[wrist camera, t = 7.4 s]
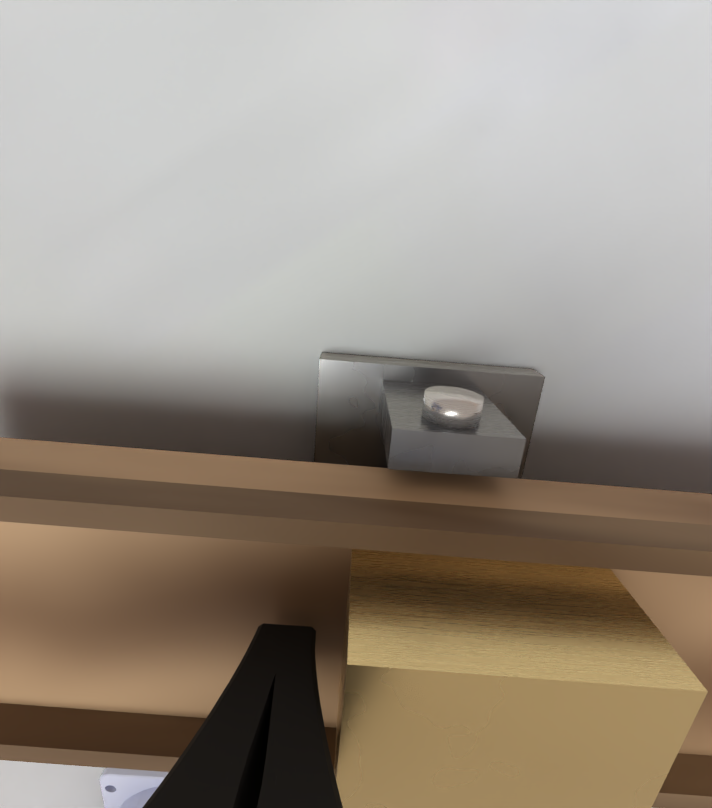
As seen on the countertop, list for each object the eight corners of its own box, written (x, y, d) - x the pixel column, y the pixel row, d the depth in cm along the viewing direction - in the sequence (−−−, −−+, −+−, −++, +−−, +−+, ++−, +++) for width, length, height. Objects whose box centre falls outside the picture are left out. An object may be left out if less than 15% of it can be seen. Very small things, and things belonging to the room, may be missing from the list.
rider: (558, 716, 11) (621, 867, 9) (338, 700, 11) (329, 846, 9) (608, 566, 10) (707, 691, 7) (352, 546, 10) (347, 664, 7)
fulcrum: (471, 644, 18) (511, 782, 13) (307, 633, 18) (288, 769, 13) (532, 366, 14) (622, 420, 9) (322, 349, 14) (303, 396, 9)
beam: (885, 732, 13) (996, 832, 11) (-86, 659, 13) (-183, 746, 11) (1036, 519, 11) (1224, 591, 9) (-168, 423, 11) (-320, 471, 8)
